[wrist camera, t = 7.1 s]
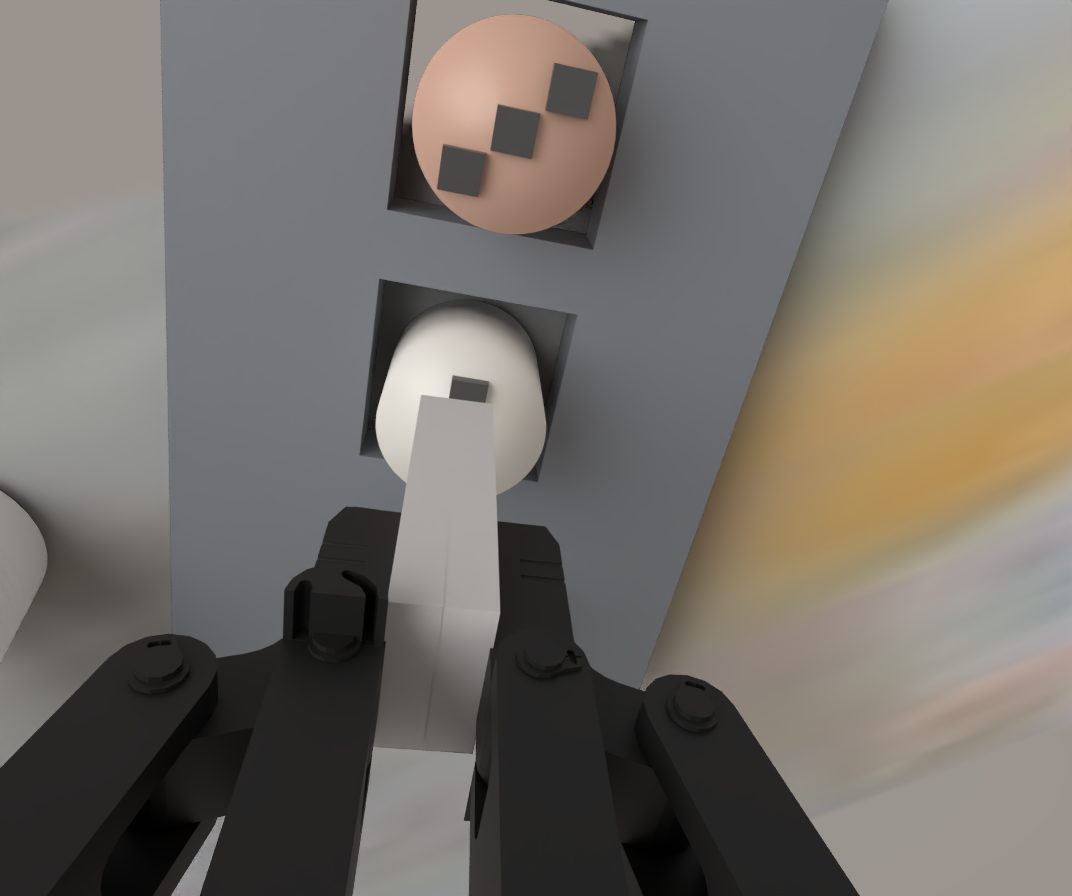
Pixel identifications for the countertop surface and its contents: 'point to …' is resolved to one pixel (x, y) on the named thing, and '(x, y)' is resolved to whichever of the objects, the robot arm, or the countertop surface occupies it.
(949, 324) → the countertop surface
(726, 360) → the console
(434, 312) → the button two
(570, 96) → the button three
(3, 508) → the cup
